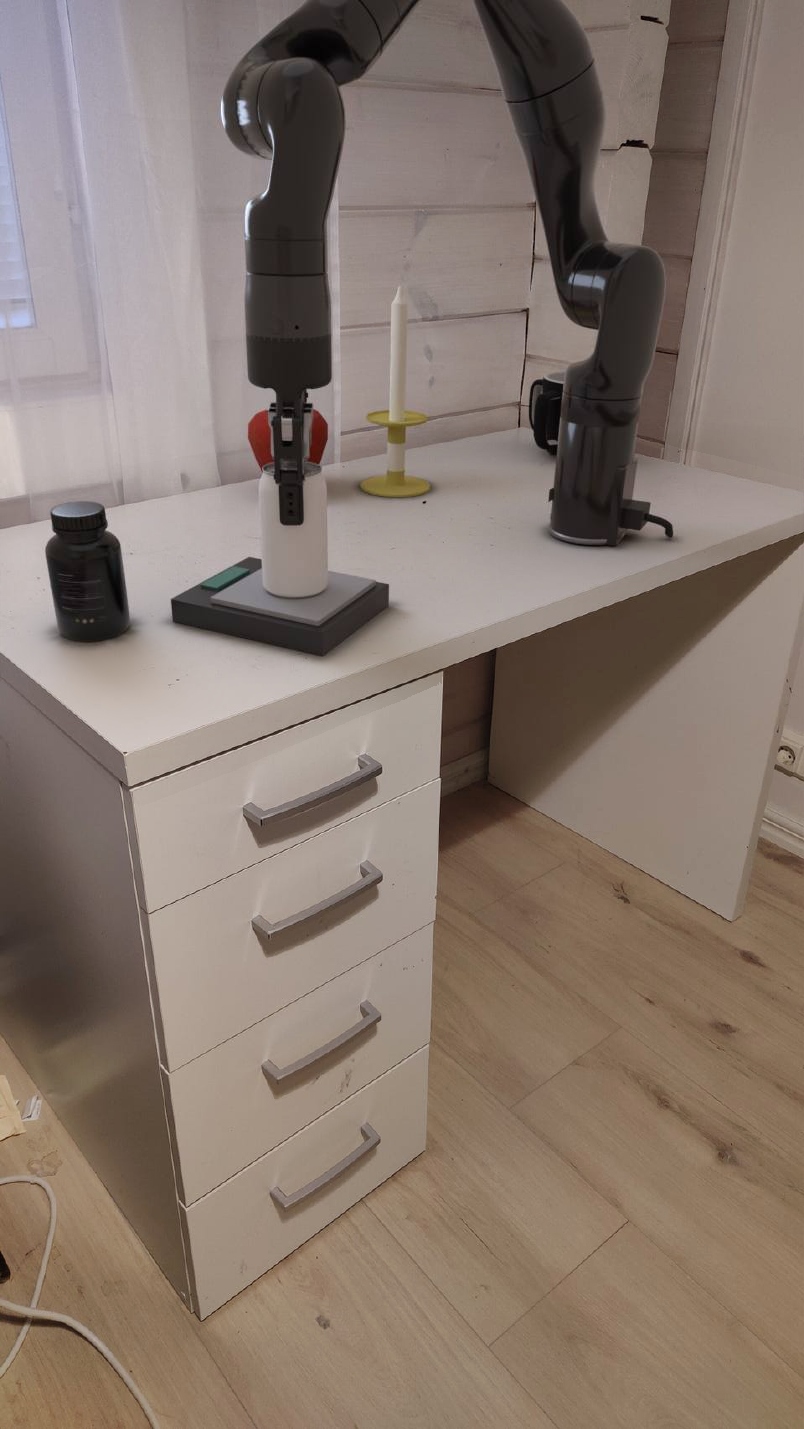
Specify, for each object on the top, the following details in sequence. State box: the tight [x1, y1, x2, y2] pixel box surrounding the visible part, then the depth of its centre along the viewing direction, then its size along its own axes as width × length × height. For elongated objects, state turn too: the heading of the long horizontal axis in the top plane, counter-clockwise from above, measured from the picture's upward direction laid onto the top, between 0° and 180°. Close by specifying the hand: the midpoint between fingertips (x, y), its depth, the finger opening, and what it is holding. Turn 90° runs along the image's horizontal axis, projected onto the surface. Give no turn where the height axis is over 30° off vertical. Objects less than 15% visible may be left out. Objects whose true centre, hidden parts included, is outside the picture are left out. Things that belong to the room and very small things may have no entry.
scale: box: [170, 556, 390, 657], centre depth 101 cm, size 17×14×3 cm
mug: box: [528, 370, 566, 457], centre depth 160 cm, size 16×16×12 cm
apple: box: [247, 408, 329, 474], centre depth 138 cm, size 11×11×12 cm
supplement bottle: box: [44, 500, 131, 642], centre depth 95 cm, size 7×7×12 cm
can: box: [258, 460, 329, 599], centre depth 97 cm, size 6×6×12 cm
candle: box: [359, 281, 431, 498], centre depth 137 cm, size 10×10×27 cm
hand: (293, 512), depth 97 cm, fingers closed on can, 6 cm apart
